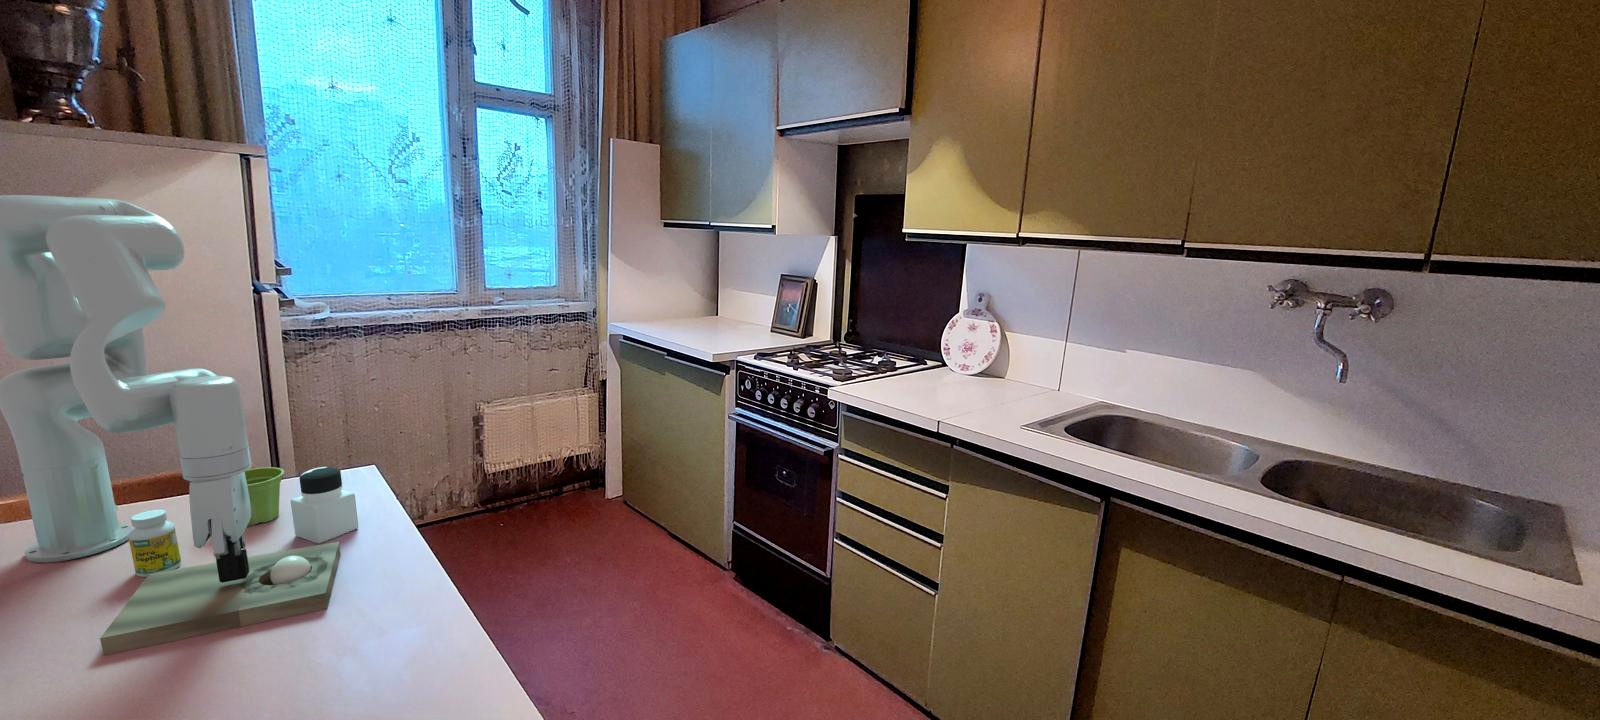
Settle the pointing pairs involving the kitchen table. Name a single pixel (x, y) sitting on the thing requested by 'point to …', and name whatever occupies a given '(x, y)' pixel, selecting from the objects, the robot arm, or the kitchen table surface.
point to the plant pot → (264, 493)
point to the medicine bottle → (323, 506)
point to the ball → (289, 570)
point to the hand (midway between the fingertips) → (234, 577)
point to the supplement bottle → (153, 543)
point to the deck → (219, 599)
